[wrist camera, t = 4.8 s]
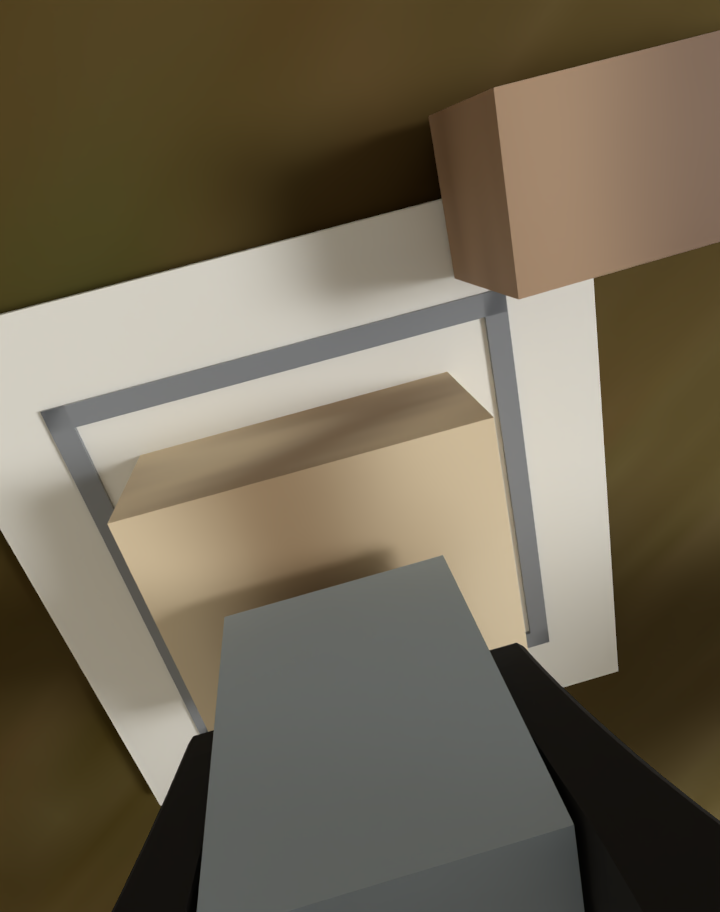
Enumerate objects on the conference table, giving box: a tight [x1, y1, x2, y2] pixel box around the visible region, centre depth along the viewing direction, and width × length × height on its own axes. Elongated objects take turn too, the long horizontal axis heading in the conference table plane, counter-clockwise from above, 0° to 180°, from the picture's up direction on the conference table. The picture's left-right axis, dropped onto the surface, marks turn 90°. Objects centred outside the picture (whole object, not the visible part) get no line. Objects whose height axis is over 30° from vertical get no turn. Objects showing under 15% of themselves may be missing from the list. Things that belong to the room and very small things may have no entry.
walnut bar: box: [428, 30, 720, 299], centre depth 11 cm, size 8×3×3 cm, turn 104°
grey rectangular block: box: [197, 555, 585, 912], centre depth 9 cm, size 4×4×5 cm
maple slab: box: [107, 372, 528, 732], centre depth 13 cm, size 7×7×3 cm
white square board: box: [0, 199, 618, 806], centre depth 15 cm, size 14×14×1 cm
